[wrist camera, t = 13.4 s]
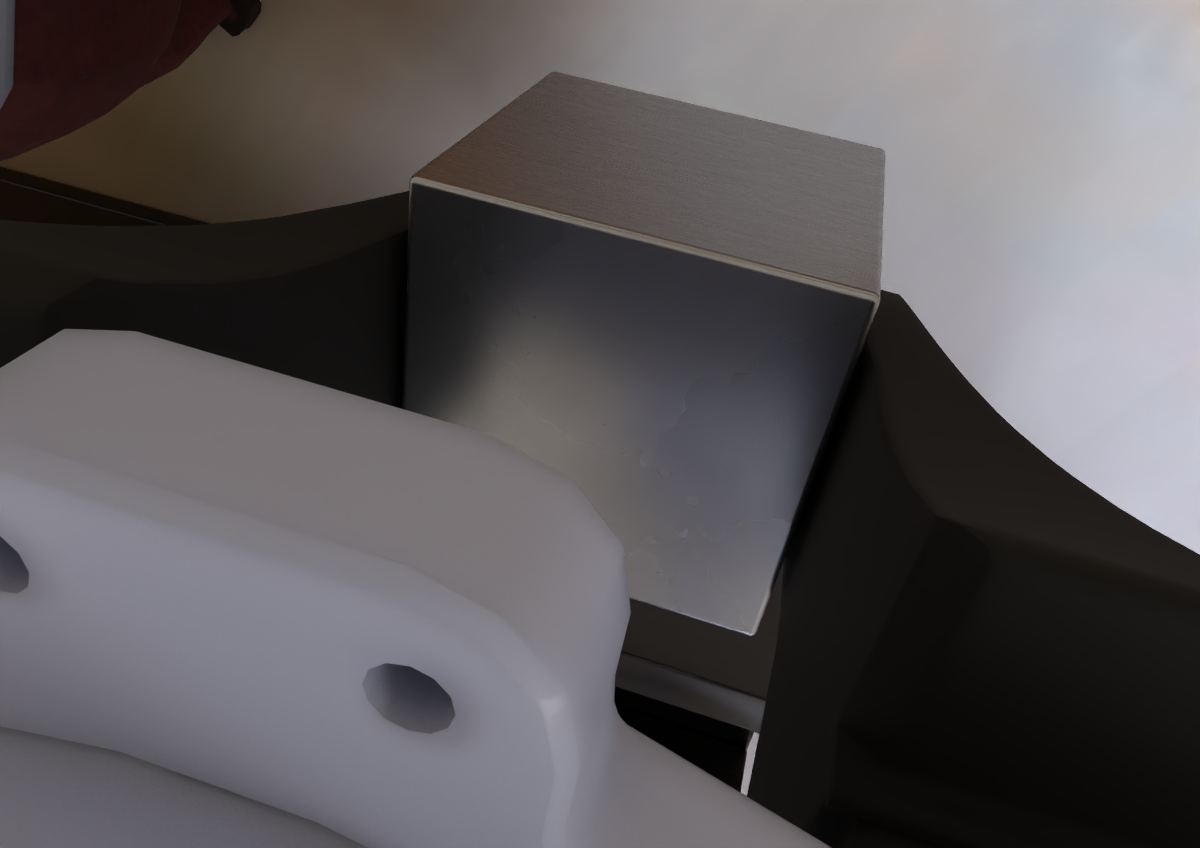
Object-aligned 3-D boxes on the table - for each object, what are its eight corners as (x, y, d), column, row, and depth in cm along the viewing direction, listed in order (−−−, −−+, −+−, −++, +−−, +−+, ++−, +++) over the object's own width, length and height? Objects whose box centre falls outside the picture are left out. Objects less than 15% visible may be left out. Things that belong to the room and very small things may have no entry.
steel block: (887, 149, 11) (882, 296, 8) (791, 431, 14) (755, 640, 10) (551, 69, 12) (407, 175, 8) (517, 354, 15) (395, 528, 11)
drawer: (1281, 564, 17) (1450, 896, 12) (1051, 848, 23) (1095, 1156, 18) (352, 306, 20) (152, 487, 14) (354, 621, 26) (212, 833, 20)
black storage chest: (487, 297, 20) (281, 541, 13) (456, 644, 26) (307, 923, 20) (-84, 143, 22) (-516, 289, 15) (19, 502, 28) (-250, 715, 21)
